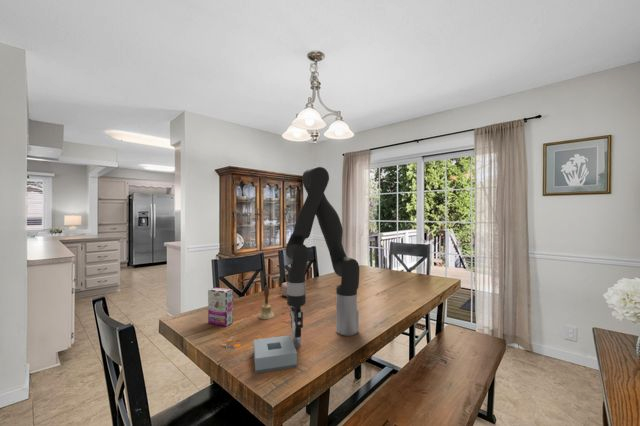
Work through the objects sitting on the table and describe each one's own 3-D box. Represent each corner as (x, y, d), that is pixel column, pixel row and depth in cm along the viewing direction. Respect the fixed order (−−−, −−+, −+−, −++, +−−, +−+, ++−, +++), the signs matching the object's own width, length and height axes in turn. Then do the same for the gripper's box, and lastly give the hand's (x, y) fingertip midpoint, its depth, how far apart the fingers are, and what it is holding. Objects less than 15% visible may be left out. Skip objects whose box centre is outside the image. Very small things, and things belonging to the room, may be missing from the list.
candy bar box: (233, 323, 134) (233, 289, 134) (226, 327, 129) (226, 292, 129) (215, 319, 138) (215, 286, 138) (207, 323, 133) (207, 289, 133)
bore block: (290, 347, 110) (290, 335, 110) (297, 367, 96) (297, 352, 96) (253, 352, 106) (253, 339, 106) (255, 373, 92) (255, 358, 92)
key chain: (244, 348, 110) (244, 346, 110) (225, 354, 106) (225, 351, 106) (233, 336, 120) (233, 334, 120) (216, 341, 116) (216, 339, 116)
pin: (300, 342, 115) (300, 313, 115) (301, 346, 111) (301, 316, 111) (291, 343, 114) (291, 313, 114) (292, 347, 110) (293, 317, 110)
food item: (279, 295, 178) (279, 280, 178) (289, 293, 183) (289, 278, 183) (292, 300, 168) (292, 284, 168) (302, 298, 173) (302, 282, 173)
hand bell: (277, 316, 143) (277, 285, 143) (264, 320, 137) (264, 288, 137) (268, 312, 149) (268, 282, 148) (254, 316, 142) (254, 285, 142)
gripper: (309, 296, 107) (309, 339, 107) (301, 287, 120) (301, 324, 120) (290, 298, 104) (289, 341, 104) (284, 288, 118) (284, 326, 118)
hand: (295, 332), depth 112 cm, fingers open, 8 cm apart
